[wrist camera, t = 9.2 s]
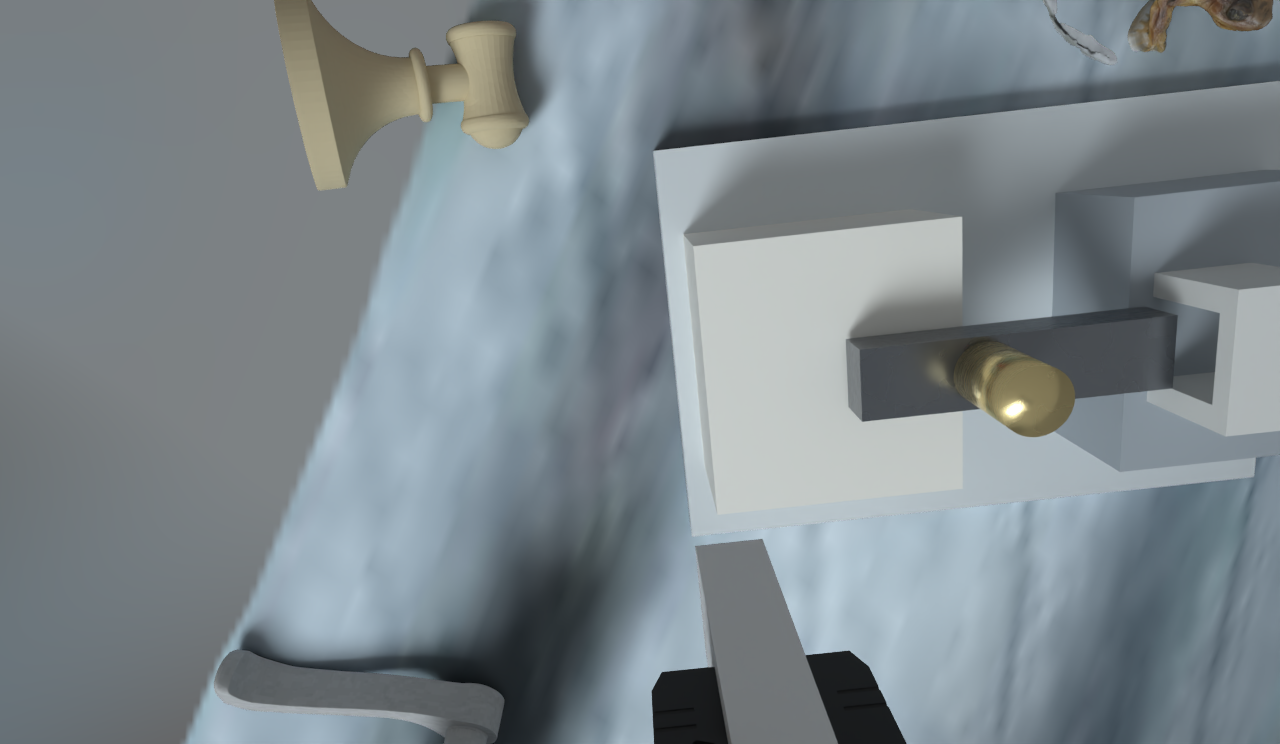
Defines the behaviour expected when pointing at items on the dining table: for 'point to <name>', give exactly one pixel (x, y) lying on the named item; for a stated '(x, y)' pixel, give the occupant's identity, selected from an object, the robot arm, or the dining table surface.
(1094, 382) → the bolt
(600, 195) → the dining table surface
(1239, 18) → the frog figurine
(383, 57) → the door knob
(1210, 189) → the white stepped platform
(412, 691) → the door handle
